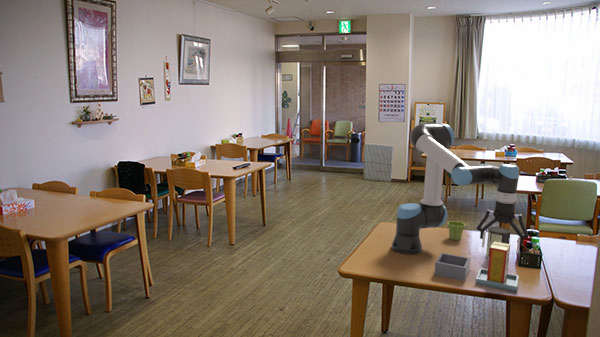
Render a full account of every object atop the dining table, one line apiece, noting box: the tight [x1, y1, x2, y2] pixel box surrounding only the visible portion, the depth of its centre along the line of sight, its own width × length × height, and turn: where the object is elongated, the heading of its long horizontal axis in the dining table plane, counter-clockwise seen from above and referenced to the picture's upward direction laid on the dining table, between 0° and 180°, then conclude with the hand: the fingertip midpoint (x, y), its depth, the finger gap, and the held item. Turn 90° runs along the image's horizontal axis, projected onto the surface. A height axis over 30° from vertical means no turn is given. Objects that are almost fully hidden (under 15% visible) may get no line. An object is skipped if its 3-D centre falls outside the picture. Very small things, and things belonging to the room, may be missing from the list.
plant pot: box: [447, 220, 466, 241], centre depth 253 cm, size 9×9×9 cm
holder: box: [433, 252, 471, 282], centre depth 207 cm, size 13×14×6 cm
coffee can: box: [485, 226, 512, 259], centre depth 227 cm, size 10×10×14 cm
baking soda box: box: [487, 241, 511, 283], centre depth 196 cm, size 10×6×16 cm
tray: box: [475, 267, 520, 293], centre depth 198 cm, size 16×13×2 cm
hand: (499, 249), depth 195 cm, fingers open, 13 cm apart
